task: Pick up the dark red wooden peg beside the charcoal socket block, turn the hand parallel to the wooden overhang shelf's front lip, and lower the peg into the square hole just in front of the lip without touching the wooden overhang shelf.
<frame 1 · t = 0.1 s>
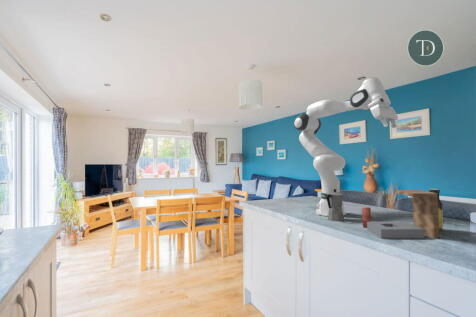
hand: (390, 126, 128), 52 cm above the counter, tool tilted 20°, fingers open, 8 cm apart
coffeepot: (335, 220, 144), on the counter
wooden overhang shelf: (416, 233, 112), on the counter
peg: (367, 227, 126), on the counter
socket block: (394, 233, 113), on the counter
sauce bottle: (434, 230, 117), on the counter
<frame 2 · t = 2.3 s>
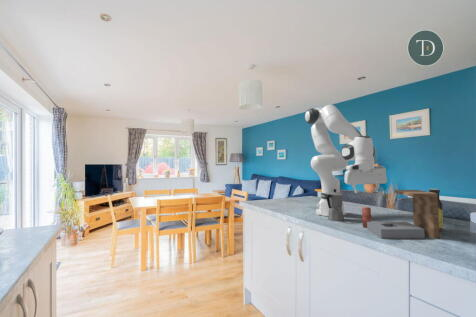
hand: (366, 192, 126), 18 cm above the counter, tool pointing down, fingers open, 8 cm apart
nothing on the counter moved.
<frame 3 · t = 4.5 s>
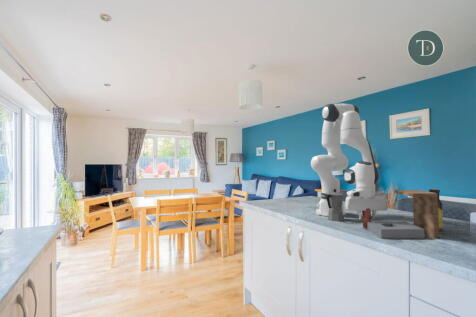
hand: (366, 219, 126), 4 cm above the counter, tool pointing down, fingers closed on peg, 4 cm apart
peg: (367, 227, 126), on the counter, touching gripper
everything else where it was.
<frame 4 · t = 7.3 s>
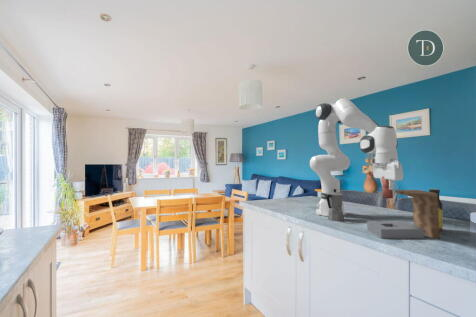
hand: (387, 189, 114), 21 cm above the counter, tool pointing down, fingers closed on peg, 4 cm apart
peg: (387, 197, 114), point 17 cm above the counter, touching gripper
everything else where it was.
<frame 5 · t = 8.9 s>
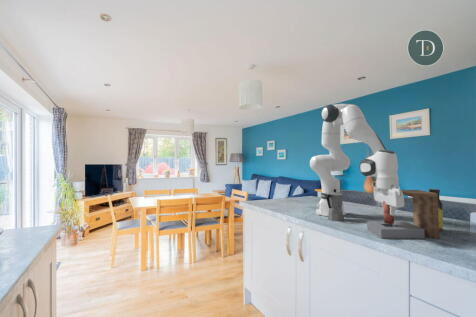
hand: (388, 214, 114), 9 cm above the counter, tool pointing down, fingers closed on peg, 4 cm apart
peg: (388, 222, 113), point 5 cm above the counter, touching gripper
everything else where it was.
when the fingers open (5 cm above the counter, at t = 10.4 s): peg stays where it is, resting in socket block.
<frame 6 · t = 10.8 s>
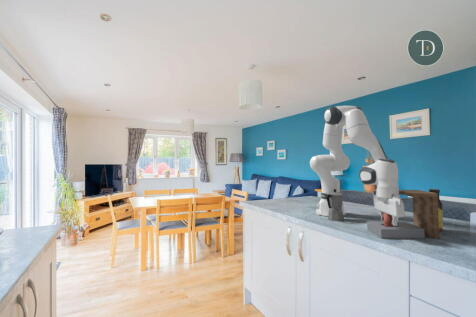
hand: (388, 222, 114), 5 cm above the counter, tool pointing down, fingers open, 8 cm apart
peg: (389, 233, 113), resting in socket block
everything else where it was.
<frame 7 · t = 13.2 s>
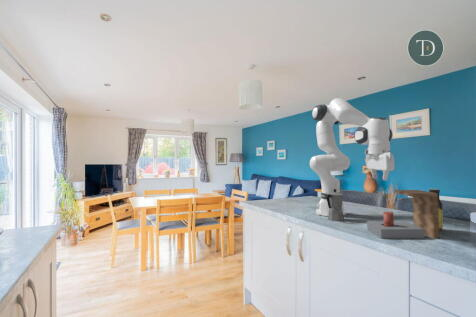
hand: (379, 179, 117), 25 cm above the counter, tool pointing down, fingers open, 8 cm apart
nothing on the counter moved.
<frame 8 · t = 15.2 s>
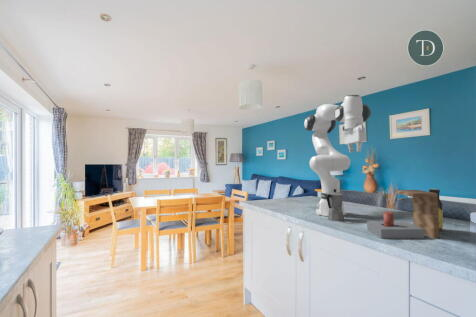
hand: (354, 152, 126), 39 cm above the counter, tool pointing down, fingers open, 8 cm apart
nothing on the counter moved.
at the end: peg 0.1 cm from the target spot on the socket block, point 0.0 cm above the socket block's base; peg tilted 0°; the gripper is holding nothing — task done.
